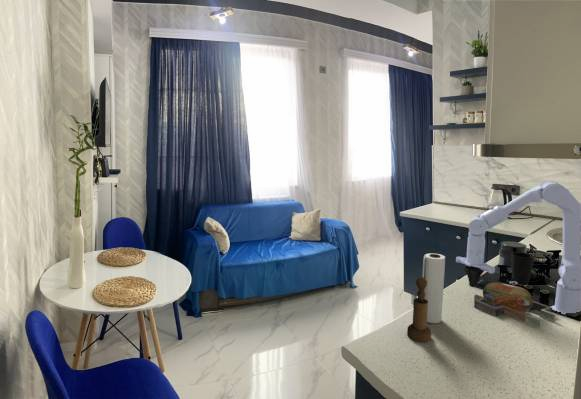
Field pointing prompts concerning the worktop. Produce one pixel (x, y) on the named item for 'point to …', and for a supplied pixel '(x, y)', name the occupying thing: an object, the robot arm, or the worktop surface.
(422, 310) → the mortar and pestle
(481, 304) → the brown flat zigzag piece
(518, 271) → the cup
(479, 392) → the worktop surface
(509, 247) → the supplement container
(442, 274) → the paper towel roll
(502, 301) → the tin
